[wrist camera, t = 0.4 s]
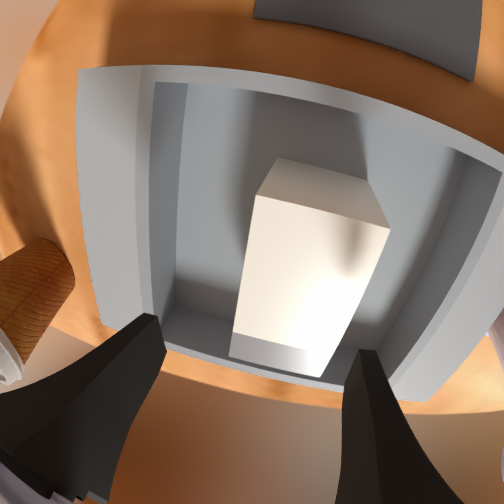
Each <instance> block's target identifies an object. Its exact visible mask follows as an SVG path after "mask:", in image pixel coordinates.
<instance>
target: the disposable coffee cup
mask: <svg viewBox="0 0 504 504" xmlns="http://www.w3.org/2000/svg"><path fill="white" fill-rule="evenodd" d="M74 287H75V278H74V274H73V271H72V268H71V266H70V264H69V262H68V260H67V259H66V257H65V256H64V254H63V253H62V252H61V251H60V250H59V249H58V248H57V247H56V246H55V245H54V244H53V243H51V242H49V241H48V240H45V239H38V240H36V241H34V242H32V243H31V244H29V245H27V246H25V247H23V248H22V249H20V250H18V251H17V252H15V253H13V254H12V255H10V256H8V257H6V258H5V259H3V260H2V261H0V381H1V382H2V383H3V384H5V385H7V386H8V385H10V384H11V383H13V382H14V381H15V380H16V379H18V380H20V379H21V378H22V372H23V370H24V365H25V363H26V361H27V360H28V358H29V356H30V354H31V353H32V351H33V349H34V348H35V346H36V345H37V343H38V341H39V339H40V338H41V337H42V335H43V333H44V332H45V330H46V328H47V327H48V325H49V324H50V323H51V321H52V319H53V318H54V317H55V315H56V314H57V312H58V310H59V309H60V308H61V306H62V304H63V303H64V302H65V300H66V299H67V297H68V296H69V295H70V293H71V292H72V291H73V289H74Z"/></svg>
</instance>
